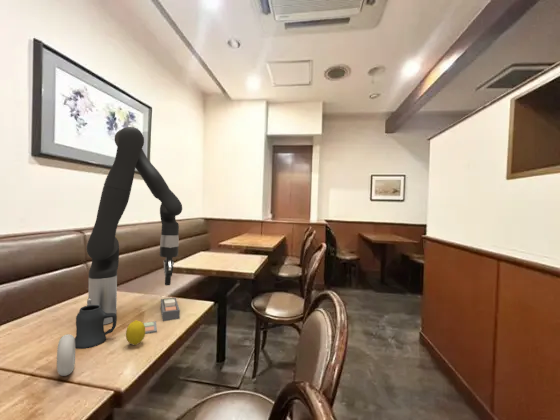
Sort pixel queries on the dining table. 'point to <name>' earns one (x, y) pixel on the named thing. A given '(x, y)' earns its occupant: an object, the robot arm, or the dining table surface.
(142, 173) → the robot arm
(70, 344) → the donut
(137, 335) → the lemon
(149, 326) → the tile
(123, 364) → the dining table surface
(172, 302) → the key cream
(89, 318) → the mug
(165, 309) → the key terracotta
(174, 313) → the keypad
